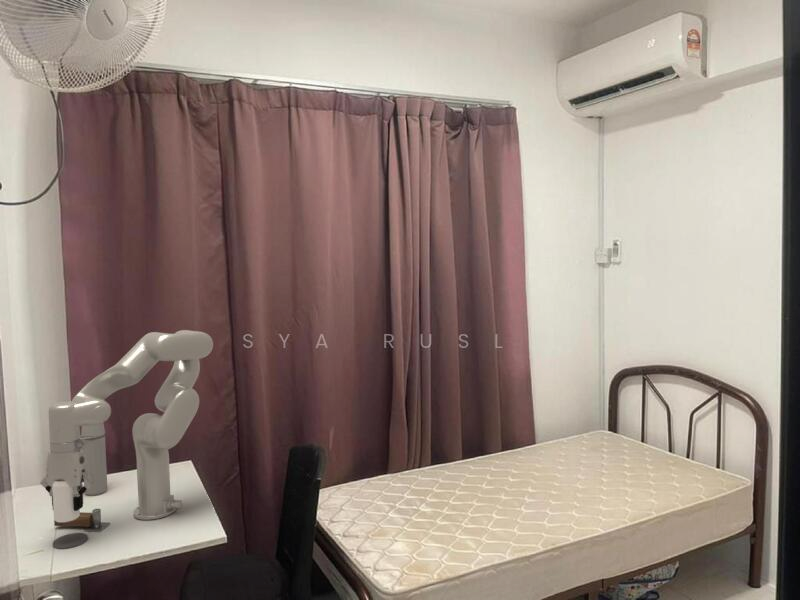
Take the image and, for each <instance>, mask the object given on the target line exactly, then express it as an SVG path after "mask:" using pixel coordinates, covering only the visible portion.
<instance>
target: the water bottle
mask: <svg viewBox="0 0 800 600" xmlns="http://www.w3.org/2000/svg"><path fill="white" fill-rule="evenodd" d="M104 423H105V422H103V423H101V424H98V425H87V426H81V429H80V430H81V431H80V442H83V443H84V446H83V447H81V448H80V449H83V450H84V453H85V456H86V461H87V468H88V477H89V478H90V479H91V480H92V481H93V484H92V485H91V486H90V487H89V488H88V489H87V490H86V491H85V493H84V494H86V495H87V496H98V495H103V493H105V492H106V491H107V489H108V473H107V455H106V454H107V452H106V451H107V450H106V449H107V448H106V436H105V434H106V429H105V424H104ZM84 485H85V483H84V482H83V486H84Z"/></svg>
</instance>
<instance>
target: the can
mask: <svg viewBox="0 0 800 600" xmlns="http://www.w3.org/2000/svg"><path fill="white" fill-rule="evenodd" d="M54 481H55V482H54V483H53V485H52V490H53V506H52V511H53V521H54V520H55V521H56V522H58V523H66V522H70V521H73V520H76V519H77V518H78V517H79V516H80V511H81V508H80V509H79V510H77V511H74V502H73V498H74V497H75V494H74V491H73V488H72V487H69V485H68V484H67V483H66V482H65V481H66V480H63V481H56V480H54ZM78 490H79V489H78Z"/></svg>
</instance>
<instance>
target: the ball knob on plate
mask: <svg viewBox="0 0 800 600" xmlns="http://www.w3.org/2000/svg"><path fill="white" fill-rule="evenodd" d="M91 511H92V512H91V513H92V514H93V525H91V526H90V527H88V526H86V528H84V531H83V532H93V533H95V532H96V533H101V532H102V531H104V530H105V529H106V528H108V527H109V526H110V525H111V522H108V521H107V522H102V513H101V511H102V510H101V508H95V509H92V510H91Z"/></svg>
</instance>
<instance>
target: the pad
mask: <svg viewBox="0 0 800 600" xmlns="http://www.w3.org/2000/svg"><path fill="white" fill-rule="evenodd" d="M87 541H89V535H88V534H87V533H85V532H84V533H83V532H73V533H68V534H65V535H64V534H63V535H61V536H60V537H56V539H54V540H53V542H52V547H53V548H54V549H57V550H67V549H68V550H69V549H73V548H76V547H79V546H81V545H84V544H85V543H86V542H87Z"/></svg>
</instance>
